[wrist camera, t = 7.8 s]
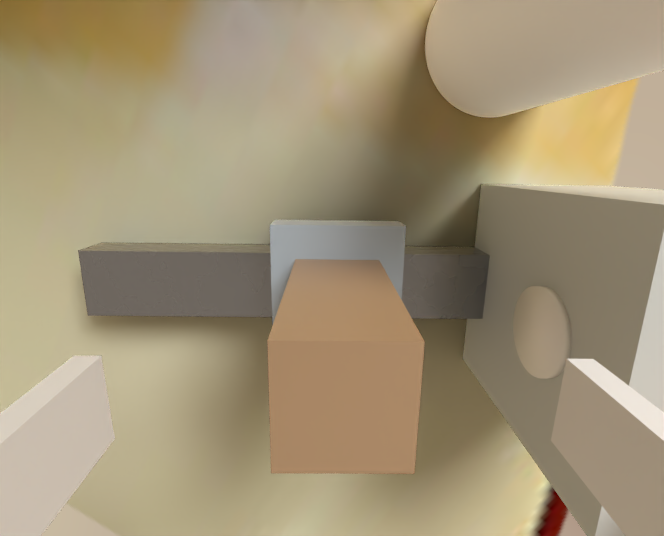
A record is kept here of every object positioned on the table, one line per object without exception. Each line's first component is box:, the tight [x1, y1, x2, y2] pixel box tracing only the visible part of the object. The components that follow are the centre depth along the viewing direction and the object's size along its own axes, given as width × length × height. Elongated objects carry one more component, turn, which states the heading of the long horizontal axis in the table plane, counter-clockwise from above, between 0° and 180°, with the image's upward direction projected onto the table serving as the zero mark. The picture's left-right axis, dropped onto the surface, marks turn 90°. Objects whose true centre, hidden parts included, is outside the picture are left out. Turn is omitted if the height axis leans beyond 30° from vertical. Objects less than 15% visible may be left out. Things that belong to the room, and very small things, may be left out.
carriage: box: [267, 220, 425, 474], centre depth 18 cm, size 8×7×14 cm
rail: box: [78, 243, 490, 319], centre depth 25 cm, size 4×24×2 cm, turn 89°
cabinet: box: [463, 184, 664, 536], centre depth 19 cm, size 12×8×14 cm
